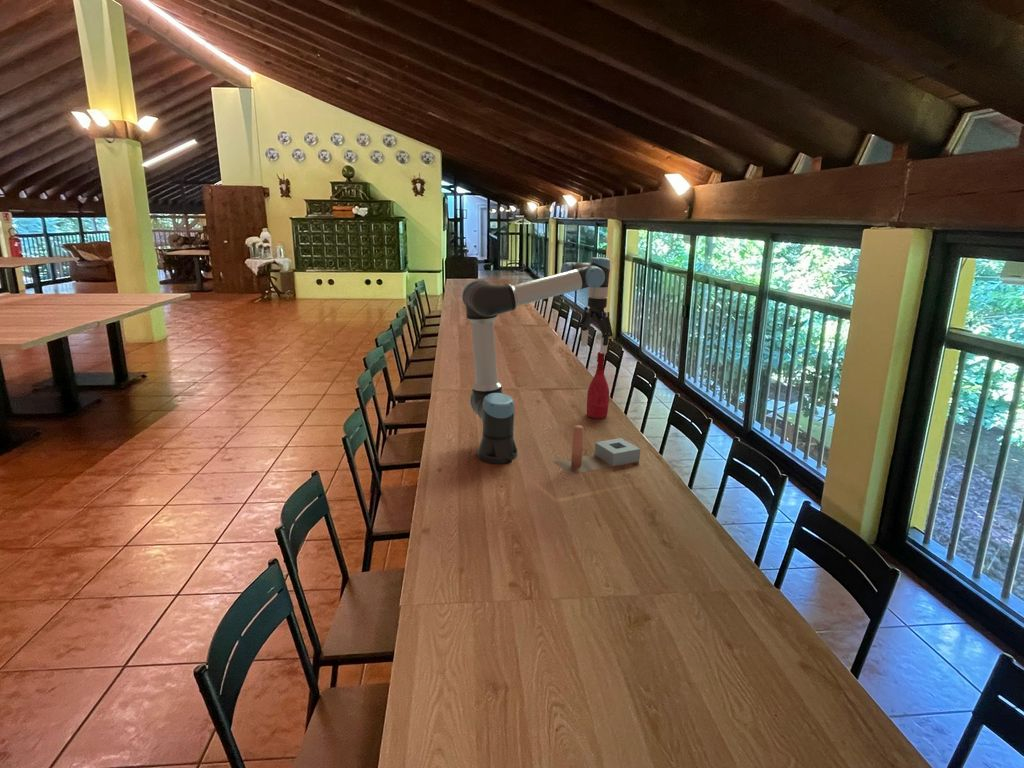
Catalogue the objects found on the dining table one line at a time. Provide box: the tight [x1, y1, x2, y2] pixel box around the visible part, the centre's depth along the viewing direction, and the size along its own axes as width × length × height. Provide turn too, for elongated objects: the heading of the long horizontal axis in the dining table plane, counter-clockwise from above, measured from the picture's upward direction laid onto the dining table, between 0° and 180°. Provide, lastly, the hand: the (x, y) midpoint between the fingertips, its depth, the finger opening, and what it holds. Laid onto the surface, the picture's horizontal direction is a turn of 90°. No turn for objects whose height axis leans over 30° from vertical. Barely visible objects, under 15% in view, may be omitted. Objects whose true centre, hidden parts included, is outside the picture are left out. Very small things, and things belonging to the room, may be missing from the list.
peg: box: [571, 424, 585, 467], centre depth 223 cm, size 4×4×15 cm
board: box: [554, 454, 640, 475], centre depth 230 cm, size 30×12×1 cm, turn 116°
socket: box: [593, 437, 641, 467], centre depth 233 cm, size 12×12×5 cm
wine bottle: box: [586, 351, 610, 419], centre depth 278 cm, size 10×10×30 cm
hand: (593, 349), depth 250 cm, fingers open, 13 cm apart
